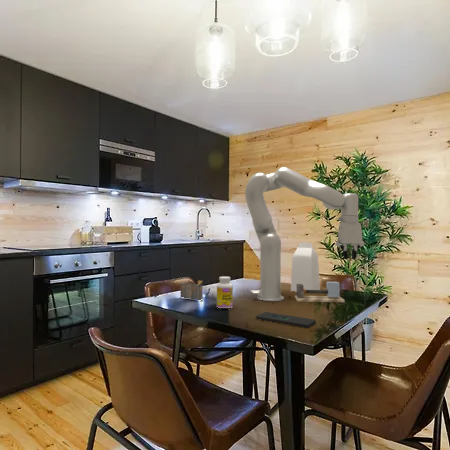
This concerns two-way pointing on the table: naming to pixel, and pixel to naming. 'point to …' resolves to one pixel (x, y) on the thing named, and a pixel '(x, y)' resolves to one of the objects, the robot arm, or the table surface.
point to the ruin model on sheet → (192, 290)
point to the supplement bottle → (224, 293)
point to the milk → (305, 268)
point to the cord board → (315, 298)
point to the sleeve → (333, 289)
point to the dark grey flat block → (287, 319)
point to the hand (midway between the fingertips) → (349, 259)
